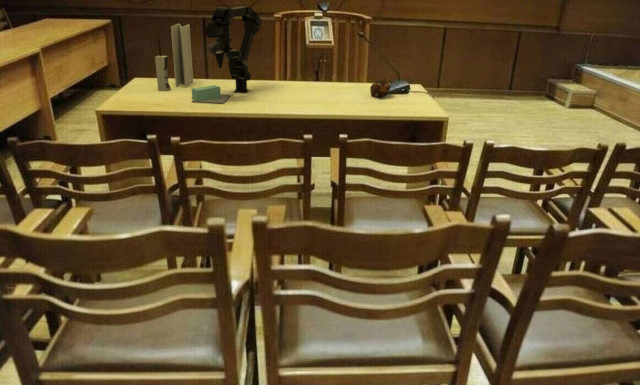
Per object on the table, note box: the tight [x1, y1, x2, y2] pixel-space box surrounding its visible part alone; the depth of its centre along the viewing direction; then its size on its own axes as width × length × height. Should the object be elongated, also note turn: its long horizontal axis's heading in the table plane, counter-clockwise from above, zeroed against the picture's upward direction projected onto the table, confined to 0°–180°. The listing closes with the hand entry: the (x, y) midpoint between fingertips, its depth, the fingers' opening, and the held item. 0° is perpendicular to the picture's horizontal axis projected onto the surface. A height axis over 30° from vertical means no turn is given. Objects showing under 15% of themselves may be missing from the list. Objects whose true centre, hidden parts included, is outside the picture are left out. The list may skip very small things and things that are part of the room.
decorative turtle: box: [369, 80, 391, 99], centre depth 257 cm, size 10×15×8 cm, turn 155°
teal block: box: [191, 84, 222, 101], centre depth 238 cm, size 5×5×12 cm
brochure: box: [170, 23, 194, 89], centre depth 259 cm, size 14×6×30 cm, turn 179°
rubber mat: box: [191, 93, 232, 105], centre depth 240 cm, size 16×15×1 cm
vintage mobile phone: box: [154, 38, 172, 92], centre depth 247 cm, size 4×5×25 cm
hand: (225, 69), depth 240 cm, fingers open, 9 cm apart
